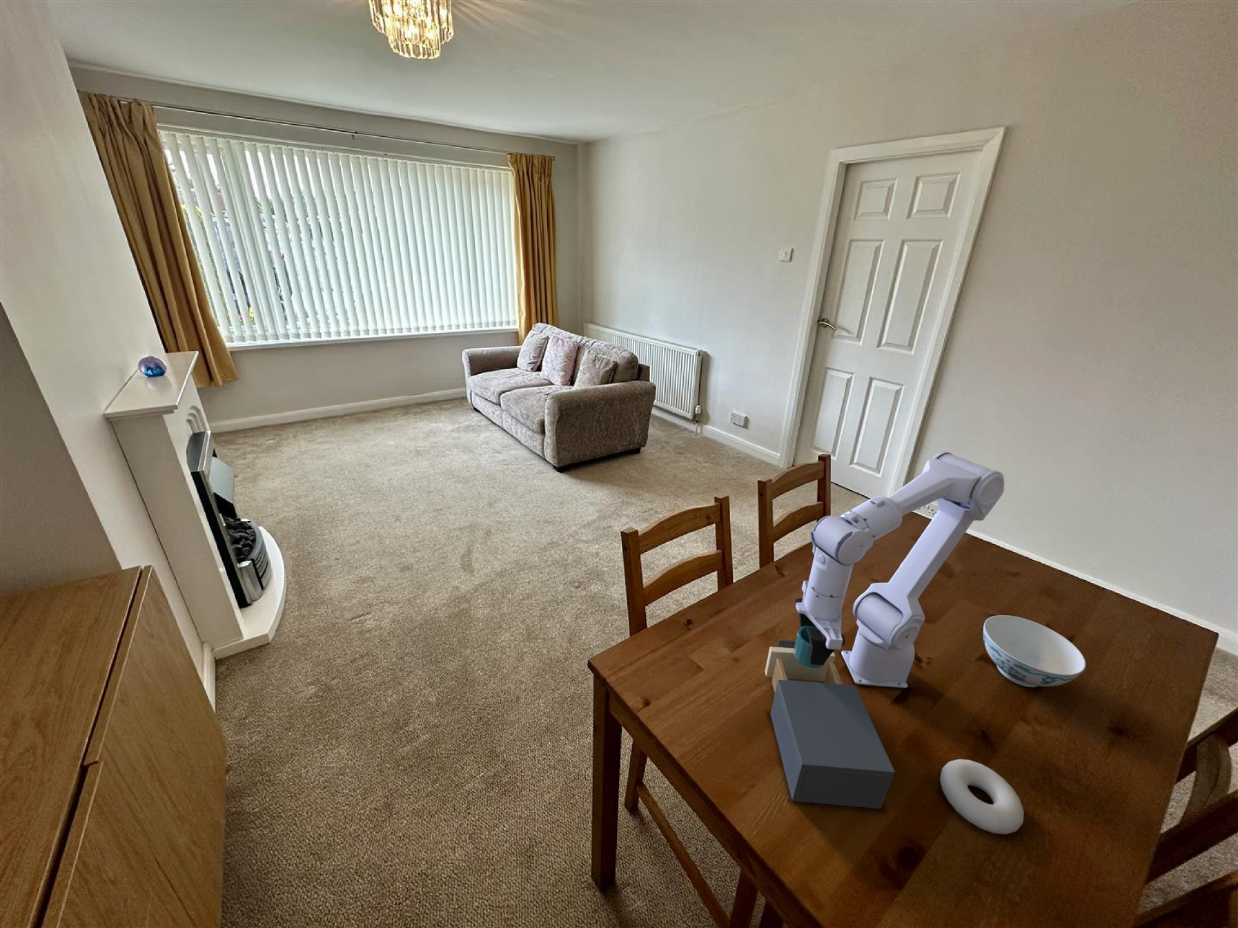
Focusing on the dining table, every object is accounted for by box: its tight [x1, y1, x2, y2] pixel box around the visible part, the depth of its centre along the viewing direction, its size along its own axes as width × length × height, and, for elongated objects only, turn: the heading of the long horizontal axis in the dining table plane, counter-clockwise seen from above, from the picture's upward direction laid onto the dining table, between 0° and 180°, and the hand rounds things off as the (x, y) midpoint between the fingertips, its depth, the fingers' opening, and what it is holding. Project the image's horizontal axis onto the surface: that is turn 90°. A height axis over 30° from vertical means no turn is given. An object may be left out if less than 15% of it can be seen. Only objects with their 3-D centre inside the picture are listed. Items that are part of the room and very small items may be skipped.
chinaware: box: [982, 614, 1087, 688], centre depth 92 cm, size 15×15×8 cm
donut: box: [939, 758, 1025, 835], centre depth 70 cm, size 10×4×10 cm
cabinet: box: [770, 679, 896, 810], centre depth 75 cm, size 15×13×8 cm
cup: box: [794, 626, 825, 668], centre depth 83 cm, size 5×5×4 cm
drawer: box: [764, 638, 844, 693], centre depth 85 cm, size 18×11×6 cm, turn 176°
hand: (811, 649), depth 83 cm, fingers closed on cup, 5 cm apart
